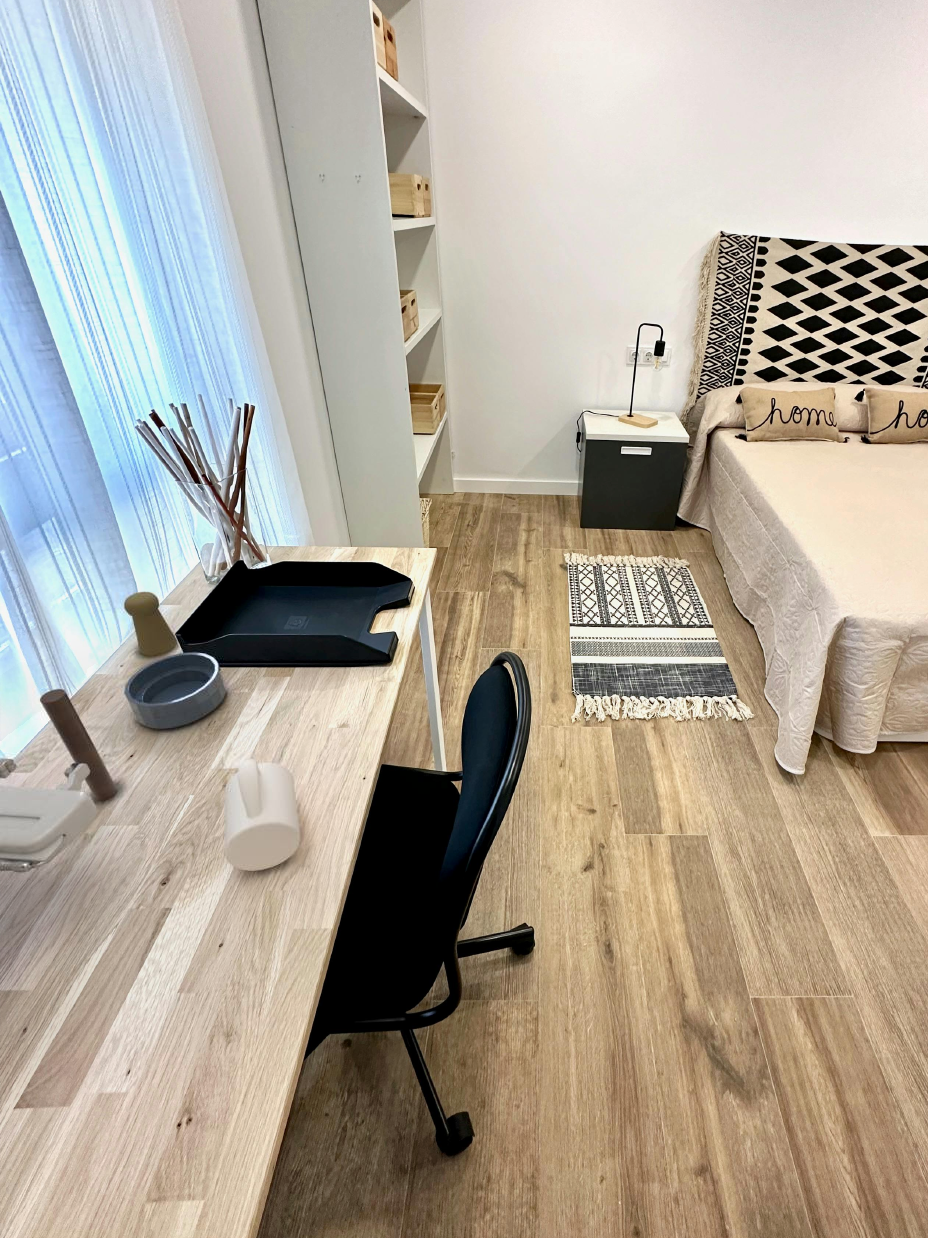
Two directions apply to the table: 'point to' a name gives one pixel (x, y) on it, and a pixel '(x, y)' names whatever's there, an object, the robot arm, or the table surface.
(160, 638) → the pepper mill
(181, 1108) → the table surface
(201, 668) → the bowl
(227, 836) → the mug
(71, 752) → the brown cylindrical rod
